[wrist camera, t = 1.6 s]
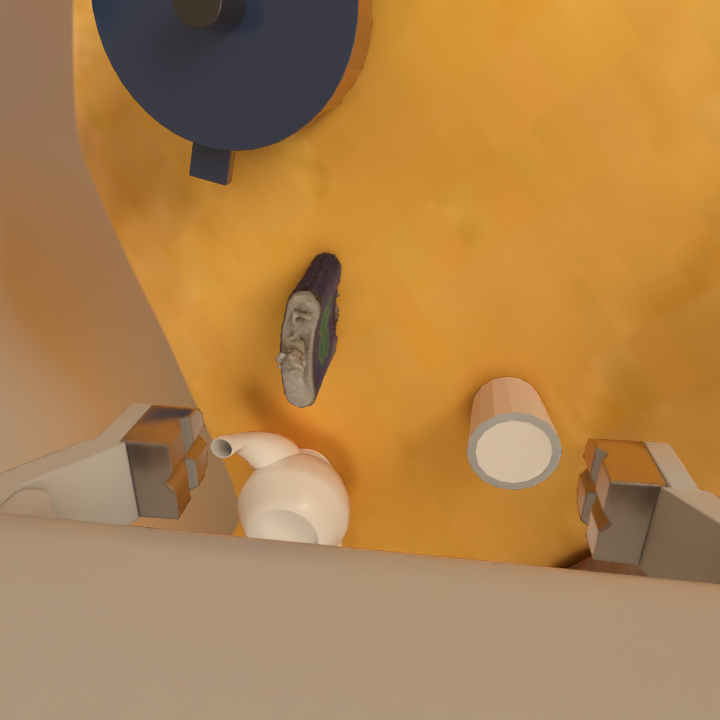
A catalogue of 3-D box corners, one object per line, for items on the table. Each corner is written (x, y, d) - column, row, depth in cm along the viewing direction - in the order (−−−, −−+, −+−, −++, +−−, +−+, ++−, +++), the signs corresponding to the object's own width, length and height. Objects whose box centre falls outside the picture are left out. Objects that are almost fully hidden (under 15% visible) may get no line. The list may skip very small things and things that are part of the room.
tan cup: (451, 389, 51) (451, 433, 44) (528, 357, 48) (539, 399, 42) (485, 451, 53) (490, 502, 46) (561, 423, 51) (576, 472, 44)
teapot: (318, 559, 61) (297, 636, 53) (209, 402, 55) (165, 461, 46) (402, 532, 58) (394, 608, 50) (297, 362, 51) (267, 417, 43)
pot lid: (392, -122, 29) (383, -155, 25) (328, 177, 36) (312, 190, 32) (106, -200, 29) (50, -245, 25) (95, 112, 36) (49, 116, 32)
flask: (337, 359, 51) (309, 424, 41) (303, 354, 51) (268, 418, 41) (344, 253, 47) (316, 298, 37) (307, 249, 47) (270, 292, 37)
